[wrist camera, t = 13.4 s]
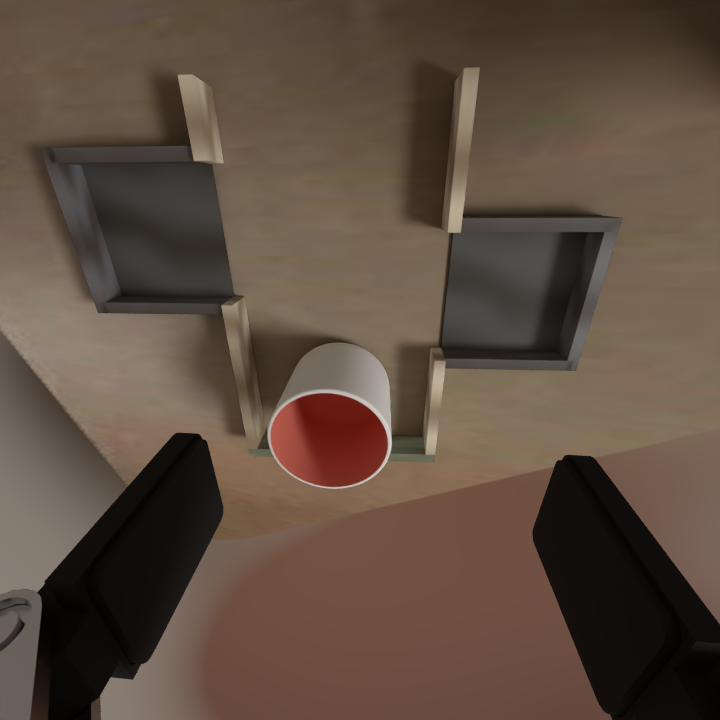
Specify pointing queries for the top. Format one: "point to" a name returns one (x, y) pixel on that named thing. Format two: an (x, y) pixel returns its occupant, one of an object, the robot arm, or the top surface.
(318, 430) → the cup
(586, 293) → the box
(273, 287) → the top surface
